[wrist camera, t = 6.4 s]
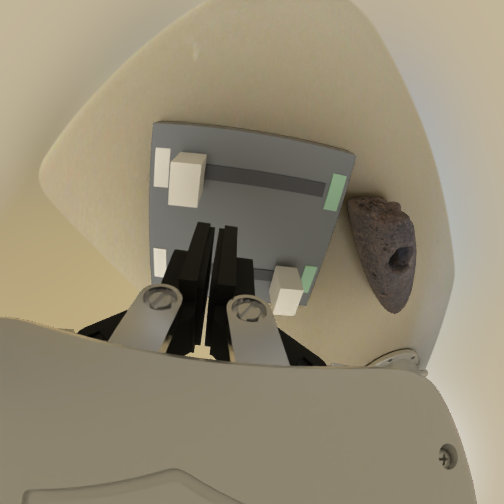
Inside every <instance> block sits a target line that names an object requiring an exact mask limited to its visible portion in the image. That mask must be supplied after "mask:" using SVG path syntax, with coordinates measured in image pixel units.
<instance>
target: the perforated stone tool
mask: <svg viewBox="0 0 504 504" xmlns="http://www.w3.org/2000/svg"><path fill="white" fill-rule="evenodd" d="M347 204H348V212H349V218H350V223H351V227H352V231H353V236H354V239H355V243H356V247H357V250H358V254H359V257H360V260H361V263H362V266H363V269H364V272H365V274H366V277H367V279H368V281H369V284H370V286H371V288H372V290H373V292H374V294H375V296H376V297H377V299H378V300H379V302H380V303H381V305H382V306H383V307H384V308H385V309H386V310H387V311H389V312H391V313H394V314H395V313H398V312H399V311H401V310H402V309H403V308H404V306H405V305H406V303H407V301H408V299H409V296H410V293H411V290H412V285H413V278H414V273H415V265H416V241H415V232H414V225H413V223H412V221H410V218H409V216H408V215H407V214H405V213H404V212H402V211H401V206H400V204H399V203H397V202H387V201H386V200H384V199H383V198H382V197H358V198H352V199H348V200H347Z"/></svg>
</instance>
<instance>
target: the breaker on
mask: <svg viewBox="0 0 504 504" xmlns="http://www.w3.org/2000/svg"><path fill="white" fill-rule="evenodd" d="M303 292H304V289H303V286H302V282H301V279H300V276H299V273H298V269H297V268H294V267H285V266H276V267H275V271H274V274H273V278H272V282H271V285H270V289H269V294H270V301H271V307H272V313H273V315H288V316H295V313H296V310H297V308H298V305H299V302H300V300H301V297H302V294H303Z"/></svg>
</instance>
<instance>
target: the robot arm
mask: <svg viewBox="0 0 504 504" xmlns="http://www.w3.org/2000/svg"><path fill="white" fill-rule="evenodd" d="M237 234H238V227H235V226H227V225H225V228H219V233H218V239H217V245H216V251H215V257H214V263H213V269H212V276H211V283H210V292H209V302H208V313H207V325H206V337H205V346H210V355H212V356H213V357H214V358H215V359H216V360H211V359H202V358H194V357H187V356H185V355H186V354H188V353H190V352H192V353H193V352H194V348H195V345H200V344H201V337H202V329H203V322H204V315H205V308H206V302H207V295H208V289H209V281H210V271H211V262H212V252H213V243H214V235H215V227H211V223H204V222H197V225H196V228H195V231H194V234H193V237H192V240H191V243H190V246H189V249H188V251H186V250H178V249H175V250H174V251H173V254H172V256H171V259H170V261H169V264H168V266H167V269H166V271H165V274H164V277H163V279H162V282H161V284H153V285H149V286H147V287H145V288H144V289H143V290H142V291H141V292H140V293H139V295H138V296H137V298H136V299H135V300H134V302H133V304H132V305H131V307H130V308H129V309H128V310H126V311H123V312H121V313H119V314H116V315H114V316H111V317H109V318H107V319H104V320H102V321H99V322H97V323H95V324H92V325H90V326H87V327H85V328H84V329H82V330H80V331H79V332H78V333H75V332H74V330H73V329H59V328H54V327H50V326H47V325H43V324H40V323H36V322H33V321H29V320H24V319H19V318H10V317H0V504H477V501H476V496H475V490H474V485H473V480H472V477H471V473H470V469H469V465H468V462H467V458H466V455H465V451H464V448H463V445H462V442H461V439H460V436H459V433H458V431H457V428H456V426H455V423H454V421H453V418H452V416H451V414H450V412H449V409H448V407H447V405H446V403H445V401H444V400H443V398H442V396H441V394H440V393H439V391H438V390H437V389H436V387H435V386H434V384H432V382H431V381H429V380H428V379H427V378H425V377H426V376H427V374H428V372H427V370H421V371H419V370H418V367H417V364H418V361H419V358H418V355H417V353H416V352H415V351H413V350H409V349H405V350H399V351H395V352H392V353H389V354H387V355H385V356H382V357H381V358H379V359H377V360H375V361H374V362H372V363H371V364H369V365H368V366H347V365H341V364H336V363H331V365H330V366H329V365H326V364H325V362H324V361H323V360H322V359H321V358H319V357H318V356H317V355H315V354H314V353H312V352H311V351H310V350H308V349H307V348H305V347H304V346H302V345H301V344H300V343H298V342H297V341H296V340H294V339H293V338H291V337H290V336H289V335H287V334H286V333H285V332H283V331H282V330H280V329H279V328H278V327H277V325H276V322H275V319H274V316H273V313H272V310H271V308H270V306H269V304H267V303H266V302H265V301H264V300H262V299H261V298H259V297H256V296H255V285H254V269H253V259H247V258H239V257H237Z"/></svg>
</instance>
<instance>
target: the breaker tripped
mask: <svg viewBox="0 0 504 504" xmlns="http://www.w3.org/2000/svg"><path fill="white" fill-rule="evenodd" d="M206 158H207V154H199V153H189V152H180V153H179V154H178V155H177V156H176V157H175V158H174V159H173V160H172V161H171V164H170V178H169V196H168V205H174V206H184V207H193V208H197V207H198V204H199V201H200V198H201V195H202V192H203V183H204V174H205V166H206Z"/></svg>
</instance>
